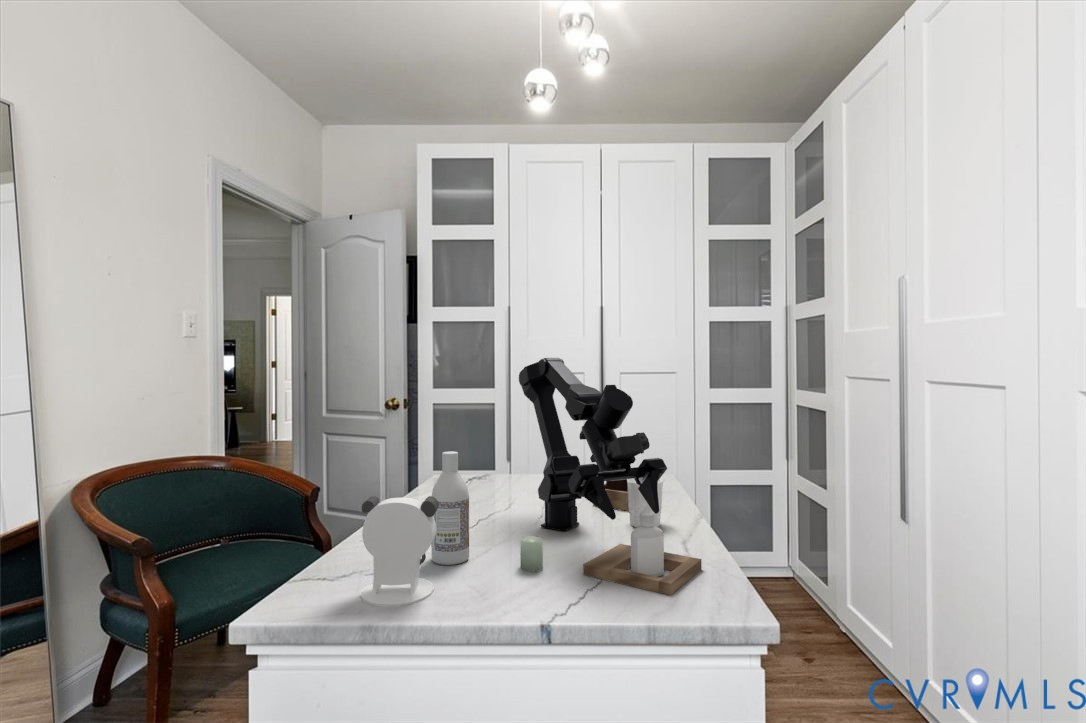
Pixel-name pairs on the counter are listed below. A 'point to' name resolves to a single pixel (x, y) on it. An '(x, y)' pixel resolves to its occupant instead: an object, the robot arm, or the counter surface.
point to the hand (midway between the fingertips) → (636, 515)
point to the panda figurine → (398, 549)
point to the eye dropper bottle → (647, 546)
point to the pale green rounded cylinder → (531, 554)
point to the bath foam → (451, 514)
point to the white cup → (641, 503)
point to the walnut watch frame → (618, 499)
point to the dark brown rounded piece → (617, 485)
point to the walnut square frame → (619, 560)
